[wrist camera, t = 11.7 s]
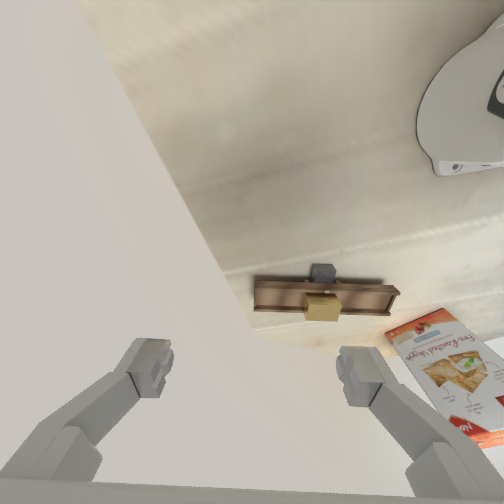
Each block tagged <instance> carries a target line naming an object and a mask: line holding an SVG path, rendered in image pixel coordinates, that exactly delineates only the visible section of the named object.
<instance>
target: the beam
mask: <svg viewBox="0 0 504 504" xmlns="http://www.w3.org/2000/svg"><path fill="white" fill-rule="evenodd" d="M304 292H314V293H335V294H336V295H337V297H338V299H339V301H340V303H341V305H342V308H341V311H340V314H346V315H374V316H390V315H391V313H390V312H389V311H390V309H391V306H392V304H393V302H394V300H395V298H396V296H397V295H400V292H399V291H398V290H397V289H396V288H395V287H394V286H393V285H369V284H341V282H340V281H335V283H310V282H309V280H305V281H304V282H278V281H255V287H254V311H260V312H289V313H304V312H303V309H302V301H303V296H304Z"/></svg>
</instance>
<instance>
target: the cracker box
mask: <svg viewBox="0 0 504 504" xmlns="http://www.w3.org/2000/svg"><path fill="white" fill-rule="evenodd" d="M385 334H386V336H387V338H388V339H389V341H390V342H391V344H392V345H393V347H394V348H395V350H396V351H397V352H398V354H399V355H400V357H401V358H402V360H403V361H404V363H405V364H406V366H407V367H408V369H409V370H410V371H411V373H412V375H413V376H414V377H415V379H416V380H417V382H418V383H419V385H420V386H421V388H422V389H423V391H424V392H425V393H426V395H427V396H428V398H429V399H430V401H431V402H432V404H433V405H434V406H435V408H436V409H437V411H438V412H439V414H441V415H442V416H443V417H444V418H446V419H447V420H448V421H449V422H451V423H452V424H453V425H454V426H456V427H457V428H458V429H459V430H461V431H462V432H463V433H464V434H466V435H467V436H468V437H469V438H470V439H472V440H473V441H474V442H475V443H476V444H477V445H478V446H479V448H480V449H483V448H488V447H494V446H498V445H503V444H504V359H502V358H501V357H500V356H499V355H498V354H497V353H496V352H494V351H493V350H492V349H491V348H490V347H489V346H487V345H486V344H485V343H484V342H483V341H482V340H480V339H479V338H478V337H477V336H476V335H475V334H473V333H472V332H471V331H470V330H469V329H468V328H466V327H465V326H464V325H463V324H462V323H461V322H459V321H458V320H457V319H456V318H455V317H453V316H452V315H451V314H450V313H449V312H448V311H446V310H445V309H444V308H443V309H441V310H439V311H436V312H434V313H432V314H429V315H427V316H424V317H422V318H420V319H417V320H415V321H413V322H410V323H408V324H406V325H403V326H401V327H398V328H396V329H394V330H391V331H389V332H386V333H385Z"/></svg>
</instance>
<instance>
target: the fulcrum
mask: <svg viewBox="0 0 504 504" xmlns="http://www.w3.org/2000/svg"><path fill="white" fill-rule="evenodd" d="M335 274H336V269H335V268H334V266H333V265H332V264H313V265H312V271H311V276H310V281H309V282H310V283H333V282H334V278H335Z"/></svg>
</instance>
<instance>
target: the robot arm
mask: <svg viewBox="0 0 504 504" xmlns="http://www.w3.org/2000/svg"><path fill="white" fill-rule="evenodd" d="M417 135H418V139H419V142H420V145H421V147H422V148H423V150H424V151H425V152H426V153H427V154H428V155H429V156H430V158H431V159H432V162H433V167H434V171H435V173H436V175H438V176H450V175H456V174H462V173H468V172H474V171H480V170H486V169H492V168H498V167H504V13H503V14H501V15H500V16H499V17H498V18H497V19H496V20H495V22H494V23H493V24H492V25H491V26H490V27H489V28H488V29H487V31H486V32H485V33H484V34H483V35H482V36H481V37H479V38H478V39H477V40H475V41H474V42H472V43H471V44H469V45H468V46H466V47H465V48H463V49H462V50H460V51H459V52H458V53H457V54H455V55H454V56H453V57H452V58H451V59H450V60H449V61H448V62H447V63H446V64H445V65H444V66H443V67H442V68H441V70H440V71H439V72H438V73H437V75H436V76H435V78H434V79H433V81H432V82H431V84H430V85H429V87H428V89H427V91H426V93H425V95H424V97H423V100H422V102H421V105H420V109H419V113H418V118H417ZM453 166H454V168H453ZM452 168H453V169H452ZM170 346H171V342H170V340H166V339H150V338H136V339H135V340H134V341H133V342H132V344H131V345H130V347H129V348H128V350H127V351H126V353H125V354H124V356H123V357H122V359H121V360H120V362H119V363H118V365H117V367H116V368H115V369H114V371H113V372H109V373H108V374H106V375H105V376H103V377H102V378H101V379H99V380H98V381H96V382H95V383H94V384H92V385H91V386H90V387H88V388H87V389H86V390H84V391H83V392H81V393H80V394H79V395H77V396H76V397H74V398H73V399H72V400H70V401H69V402H68V403H66V404H65V405H64V406H62V407H61V408H59V409H58V410H57V411H55V412H54V413H52V414H51V415H50V416H48V417H47V418H46V419H44V420H43V421H41V422H40V423H39V424H38V425H37V426H36V428H35V429H34V430H33V431H32V433H31V434H30V435H29V436H28V437H27V439H26V440H25V441H24V443H23V444H22V445H21V446H20V447H19V449H18V450H17V451H16V452H15V453H14V455H13V456H12V457H11V458H10V460H9V461H8V462H7V463H6V465H5V466H4V467H3V468H2V470H1V471H0V504H504V480H503V478H502V477H501V476H500V474H499V473H498V472H497V470H496V469H495V468H494V466H493V465H492V464H491V462H490V461H489V460H488V458H487V457H486V456H485V455H484V453H483V452H482V450H481V449H480V448H479V446H478V445H477V444H476V443H475V442H474V441H473V440H472V439H470V438H469V437H468V436H467V435H466V434H464V433H463V432H462V431H461V430H459V429H458V428H457V427H456V426H454V425H453V424H452V423H451V422H449V421H448V420H447V419H446V418H444V417H443V416H442V415H441V414H439V413H438V412H437V411H436V410H434V409H433V408H432V407H431V406H429V405H428V404H427V403H426V402H425V401H423V400H422V399H421V398H420V397H418V396H417V395H416V394H415V393H413V392H412V391H411V390H410V389H409V388H407V387H406V386H405V385H404V384H399V382H398V381H397V379H396V377H395V376H394V374H393V373H392V371H391V369H390V368H389V366H388V364H387V363H386V361H385V360H384V358H383V356H382V355H381V353H380V352H379V350H378V349H377V348H376V347H363V346H342V347H341V348H340V350H339V351H340V354H341V355H339V356H338V357H337V360H336V370H337V374H338V377H339V379H340V380H341V381H342V382H343V383H344V387H343V391H344V393H345V396H346V399H347V402H348V404H349V406H356V407H369V409H370V411H371V412H372V413H373V414H374V415H375V416H376V418H377V419H378V420H379V421H380V422H381V423H382V425H383V426H384V427H385V428H386V429H387V430H388V432H389V433H390V434H391V435H392V436H393V437H394V438H395V440H396V441H397V442H398V443H399V444H400V446H401V447H402V448H403V449H404V450H405V451H406V453H407V454H408V455H409V456H410V457H411V458H412V460H413V461H414V462H413V463H412V464H411V465H410V466H409V467H408V468H407V469H406V472H405V474H406V476H407V479H408V481H409V483H410V485H411V488H412V490H413V492H414V494H415V496H416V497H401V496H400V497H399V496H380V495H359V494H338V493H336V494H335V493H316V492H296V491H275V490H254V489H232V488H211V487H190V486H168V485H148V484H126V483H105V482H92V480H93V478H94V476H95V474H96V472H97V470H98V468H99V466H100V463H101V462H102V455H101V454H100V452H99V451H98V450H97V449H96V447H95V446H96V445H97V444H98V443H99V442H100V441H101V440H102V438H103V437H104V436H105V435H106V434H107V433H108V432H109V431H110V430H111V429H112V428H113V427H114V426H115V425H116V424H117V423H118V421H120V420H121V419H122V417H123V416H124V415H125V414H126V413H127V412H128V411H129V410H130V409H131V408H132V407H133V406H134V405H135V404H136V403H137V402H138V400H139V399H140V398H159V397H160V395H161V393H162V390H163V387H164V385H165V383H166V381H165V378H164V377H165V376H166V375H167V374H168V373H169V372H170V370H171V367H172V364H173V359H174V354H173V350H171V349H170Z"/></svg>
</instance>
